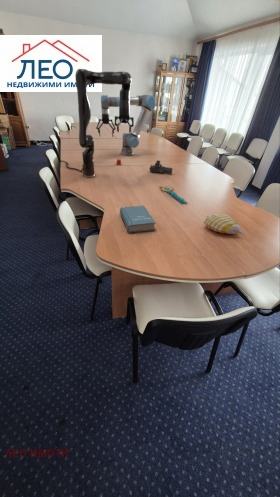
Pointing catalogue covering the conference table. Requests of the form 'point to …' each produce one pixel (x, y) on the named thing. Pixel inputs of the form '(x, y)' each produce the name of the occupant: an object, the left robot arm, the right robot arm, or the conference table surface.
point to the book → (137, 219)
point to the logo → (167, 189)
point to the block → (118, 161)
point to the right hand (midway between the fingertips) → (106, 136)
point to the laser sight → (160, 168)
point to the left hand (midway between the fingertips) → (124, 132)
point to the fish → (223, 224)
